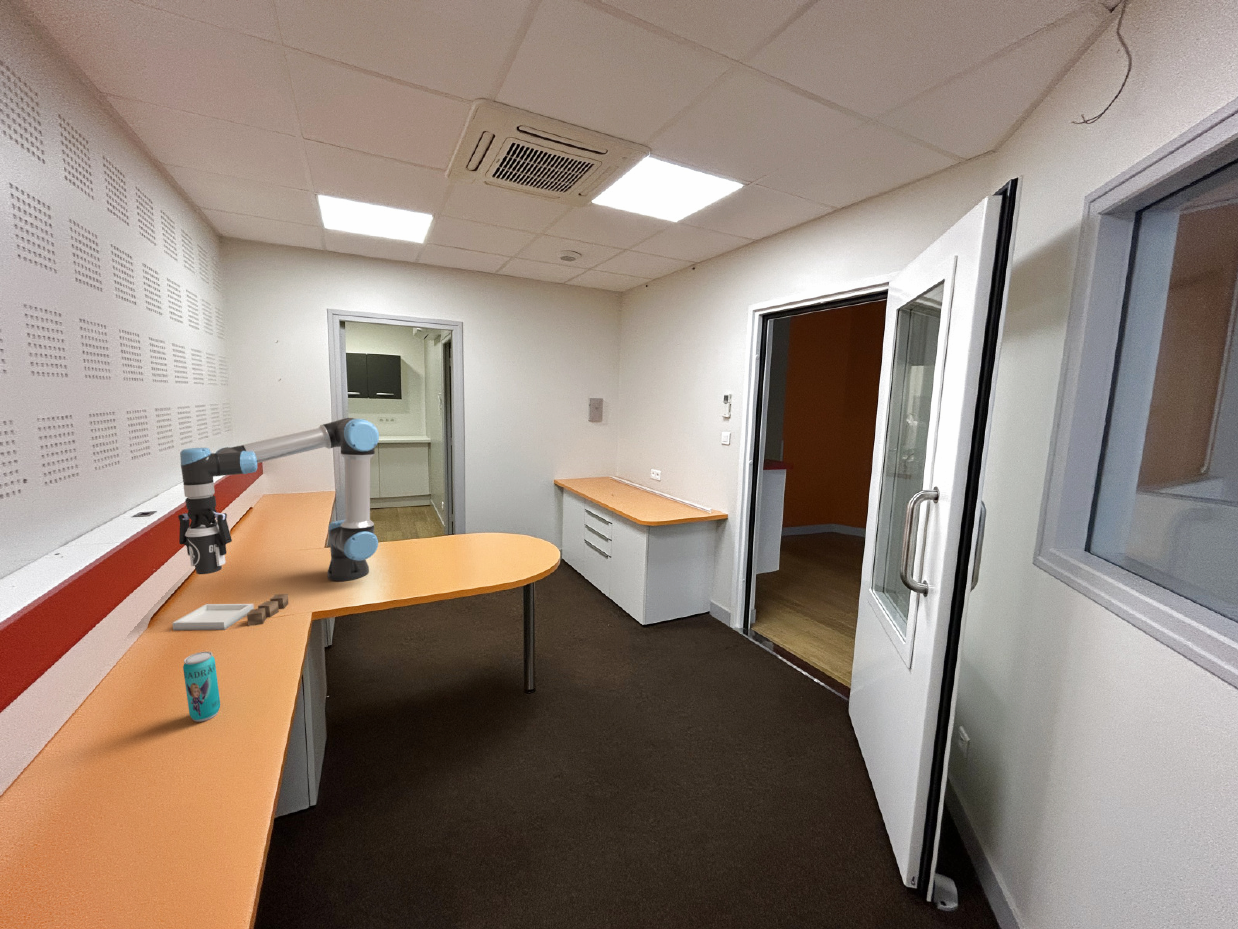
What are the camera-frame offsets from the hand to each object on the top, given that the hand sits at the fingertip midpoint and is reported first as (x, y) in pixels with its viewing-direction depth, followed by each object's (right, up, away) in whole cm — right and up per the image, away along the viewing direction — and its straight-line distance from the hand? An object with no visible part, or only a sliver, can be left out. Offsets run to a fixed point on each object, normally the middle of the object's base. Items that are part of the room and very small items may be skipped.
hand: (208, 564), depth 169 cm
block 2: (+15, -19, +7) cm, 25 cm away
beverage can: (+36, -27, -47) cm, 65 cm away
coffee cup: (0, -2, 0) cm, 2 cm away
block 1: (+15, -19, +1) cm, 25 cm away
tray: (0, -19, +3) cm, 19 cm away
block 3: (+15, -18, +13) cm, 26 cm away
